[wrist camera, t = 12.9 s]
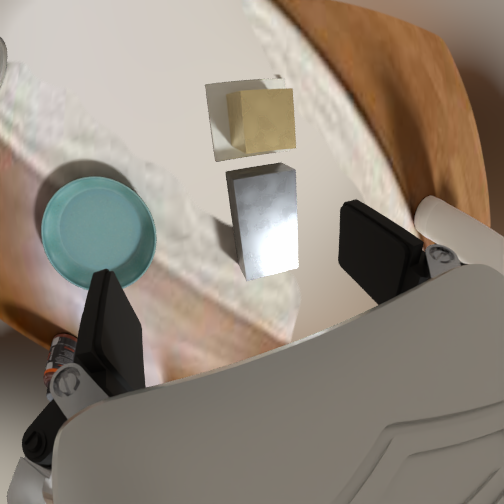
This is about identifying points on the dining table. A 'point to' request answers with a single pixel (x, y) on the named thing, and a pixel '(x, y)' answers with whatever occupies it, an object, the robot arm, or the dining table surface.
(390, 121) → the dining table surface
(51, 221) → the saucer
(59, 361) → the supplement bottle
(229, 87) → the mat
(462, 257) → the bottle
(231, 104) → the gold block
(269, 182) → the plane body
